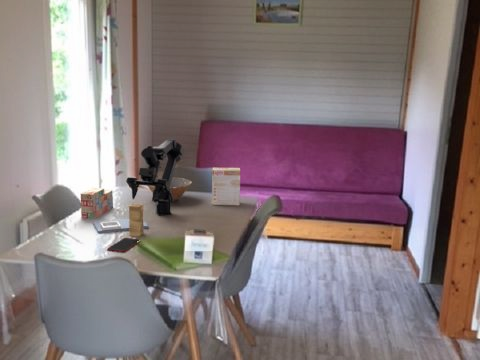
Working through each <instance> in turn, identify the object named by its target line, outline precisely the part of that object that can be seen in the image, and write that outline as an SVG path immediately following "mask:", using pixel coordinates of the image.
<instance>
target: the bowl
mask: <svg viewBox="0 0 480 360" xmlns="http://www.w3.org/2000/svg"><path fill="white" fill-rule="evenodd" d="M158 179H162V177H158V178H156V181H155V182H157V181H158ZM191 185H192V181H191V179H187V178H184V177H173V176H172V179H171V183H170V189H171V193H172V195H173V202H175V201H177V200H179V199H180V198H181V197H182V196H183V195H184V194H185V193H186V192H187V190H188V189H189V188H190V187H191ZM147 187H148V189H149V191H151V193H153V190H154V188H155V186H147Z"/></svg>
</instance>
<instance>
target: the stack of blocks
mask: <svg viewBox="0 0 480 360" xmlns="http://www.w3.org/2000/svg"><path fill="white" fill-rule="evenodd" d="M113 208H114V195H113V189H105V188H104V187H103V188H101V187H91V188H89V189H87V190H85V191H83V192H81V193H80V214H81V215H80V216H81V217H80V218H81V219H88V218H89V219H90V220H91V219H92V220H94V219H96V218H98V217H99V216H101V215H102V214H105V213H106V212H108V211H110V210H111V209H113Z"/></svg>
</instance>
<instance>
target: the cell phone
mask: <svg viewBox="0 0 480 360" xmlns="http://www.w3.org/2000/svg"><path fill="white" fill-rule="evenodd" d="M139 240H140V239H139V238H138V239H137V238H129V237H123V238H121V239H120V240H118V241H117V242H115V243H114V244H112V245H110V246H109V247H108V248H107V249H106V250H107V251H108V252H116V253H121V254H124V253H127V252H128V251H129V250H130V249H132V248H134V247H135V246H137V245H138V244H137V241H139Z"/></svg>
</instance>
